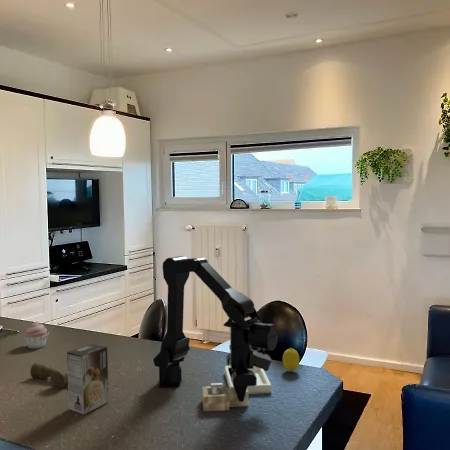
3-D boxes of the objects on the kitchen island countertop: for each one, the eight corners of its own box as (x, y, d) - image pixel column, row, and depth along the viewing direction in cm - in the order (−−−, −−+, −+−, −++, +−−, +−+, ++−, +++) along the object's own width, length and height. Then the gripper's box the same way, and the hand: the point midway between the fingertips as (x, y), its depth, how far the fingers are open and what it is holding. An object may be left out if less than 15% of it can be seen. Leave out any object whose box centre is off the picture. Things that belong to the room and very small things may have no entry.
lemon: (298, 375, 153) (299, 351, 153) (281, 374, 154) (282, 350, 154) (299, 369, 159) (299, 345, 158) (283, 368, 160) (283, 344, 159)
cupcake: (43, 350, 178) (43, 324, 178) (19, 350, 178) (18, 324, 178) (53, 343, 188) (52, 318, 187) (29, 342, 188) (29, 318, 187)
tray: (271, 393, 139) (271, 384, 139) (230, 394, 138) (230, 386, 138) (260, 372, 156) (260, 364, 156) (224, 373, 155) (224, 365, 155)
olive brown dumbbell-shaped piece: (47, 373, 156) (94, 381, 148) (23, 384, 148) (72, 393, 139) (46, 355, 156) (93, 362, 148) (22, 365, 147) (71, 374, 139)
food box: (93, 397, 136) (92, 342, 135) (109, 402, 133) (108, 346, 132) (67, 409, 128) (66, 351, 127) (83, 415, 125) (82, 355, 124)
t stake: (209, 408, 129) (209, 386, 129) (208, 402, 133) (208, 381, 132) (222, 407, 129) (222, 386, 129) (221, 402, 133) (221, 381, 133)
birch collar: (203, 411, 127) (203, 396, 127) (202, 400, 134) (202, 386, 134) (249, 409, 128) (249, 394, 128) (245, 398, 135) (245, 384, 135)
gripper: (276, 353, 122) (275, 412, 123) (263, 333, 141) (262, 384, 142) (233, 355, 121) (233, 414, 122) (226, 334, 140) (226, 386, 141)
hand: (240, 398), depth 132 cm, fingers open, 3 cm apart
